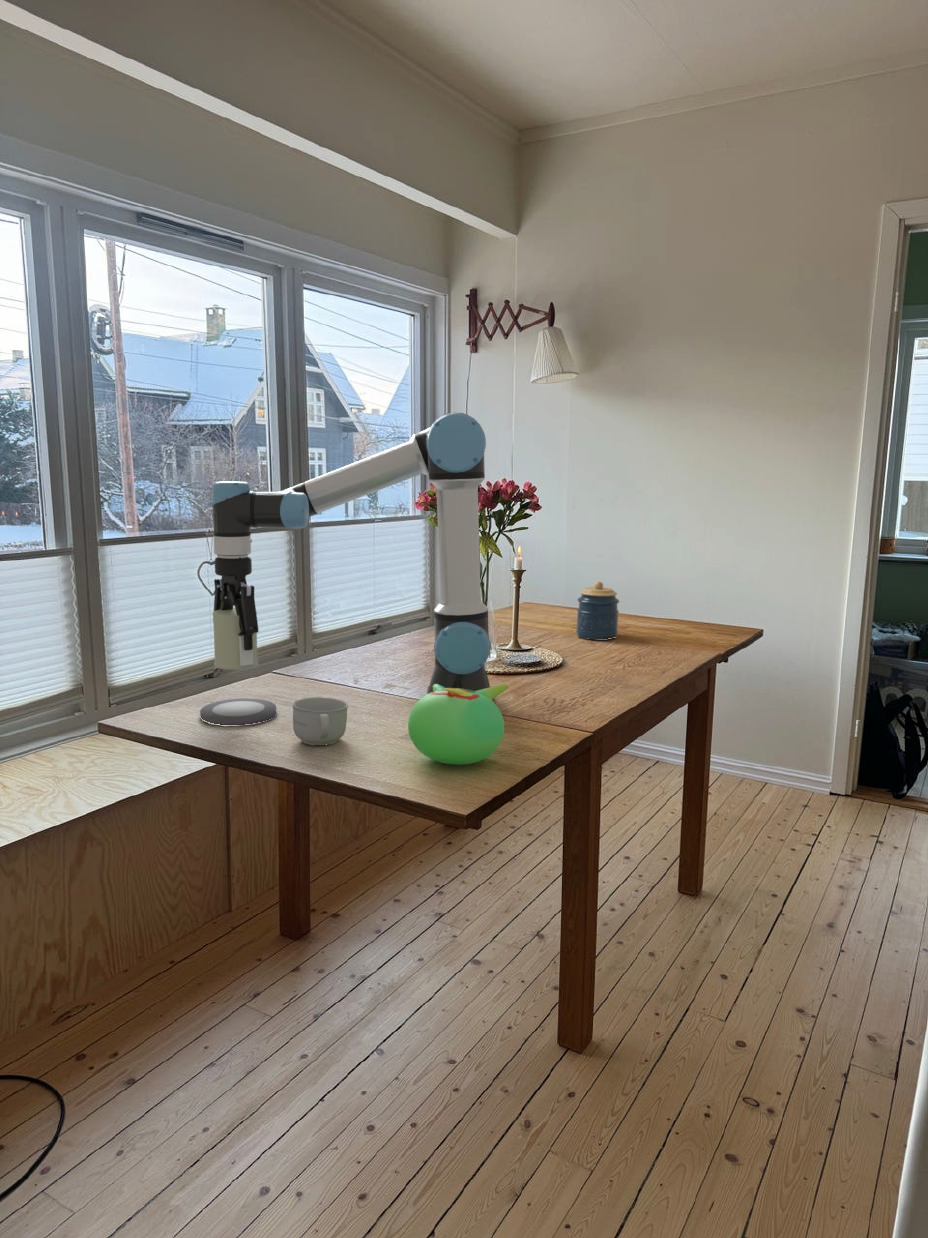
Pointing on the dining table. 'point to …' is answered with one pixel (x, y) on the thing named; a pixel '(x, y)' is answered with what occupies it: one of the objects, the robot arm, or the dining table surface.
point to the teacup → (319, 720)
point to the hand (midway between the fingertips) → (236, 660)
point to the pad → (238, 711)
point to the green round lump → (457, 724)
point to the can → (229, 641)
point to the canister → (597, 613)
